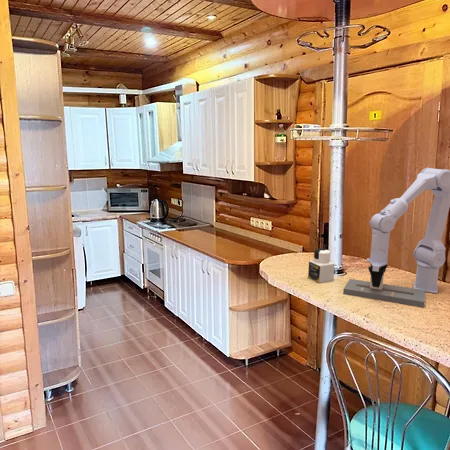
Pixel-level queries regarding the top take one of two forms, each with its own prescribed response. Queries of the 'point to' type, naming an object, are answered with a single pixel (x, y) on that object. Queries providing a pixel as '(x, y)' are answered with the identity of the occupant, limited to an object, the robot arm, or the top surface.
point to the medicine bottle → (321, 266)
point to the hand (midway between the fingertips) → (376, 285)
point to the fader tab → (379, 286)
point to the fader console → (386, 293)
